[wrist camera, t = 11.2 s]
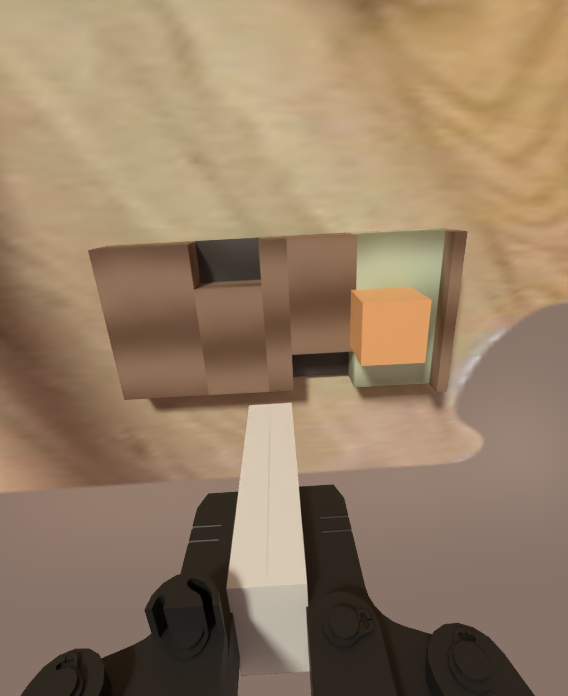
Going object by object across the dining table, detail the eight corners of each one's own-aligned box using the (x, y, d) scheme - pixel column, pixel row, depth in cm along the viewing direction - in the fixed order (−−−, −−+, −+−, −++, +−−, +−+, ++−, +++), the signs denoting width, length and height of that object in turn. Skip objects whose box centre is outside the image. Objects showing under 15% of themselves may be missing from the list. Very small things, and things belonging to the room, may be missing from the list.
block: (351, 289, 27) (362, 303, 23) (410, 286, 27) (431, 299, 23) (349, 345, 28) (360, 366, 25) (405, 342, 28) (425, 362, 25)
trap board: (107, 246, 28) (77, 253, 24) (439, 227, 28) (467, 231, 24) (137, 383, 33) (116, 409, 28) (424, 367, 33) (446, 391, 28)
